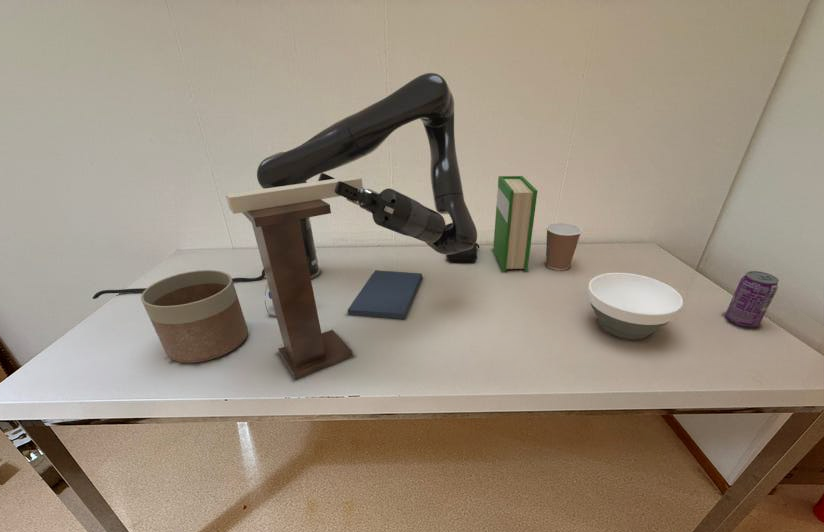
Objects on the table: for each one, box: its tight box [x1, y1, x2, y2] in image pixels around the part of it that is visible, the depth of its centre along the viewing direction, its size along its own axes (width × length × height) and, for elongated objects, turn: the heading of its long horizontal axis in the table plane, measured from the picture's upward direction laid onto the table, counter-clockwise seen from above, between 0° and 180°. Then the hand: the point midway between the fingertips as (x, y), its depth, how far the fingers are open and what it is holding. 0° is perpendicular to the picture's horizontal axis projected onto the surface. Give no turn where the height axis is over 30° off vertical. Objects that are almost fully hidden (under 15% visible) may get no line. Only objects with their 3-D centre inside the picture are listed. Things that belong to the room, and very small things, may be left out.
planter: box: [140, 269, 249, 363], centre depth 82 cm, size 16×16×14 cm
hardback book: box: [492, 175, 538, 273], centre depth 118 cm, size 18×7×24 cm, turn 4°
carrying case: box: [445, 242, 480, 263], centre depth 127 cm, size 11×3×15 cm
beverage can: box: [724, 270, 780, 328], centre depth 91 cm, size 7×7×12 cm
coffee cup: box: [545, 222, 583, 271], centre depth 118 cm, size 10×10×12 cm
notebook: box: [347, 269, 423, 320], centre depth 104 cm, size 14×22×2 cm, turn 172°
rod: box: [225, 175, 364, 215], centre depth 66 cm, size 22×2×2 cm, turn 127°
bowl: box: [587, 272, 684, 340], centre depth 89 cm, size 20×20×10 cm
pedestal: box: [242, 199, 354, 381], centre depth 73 cm, size 12×10×32 cm
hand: (328, 182), depth 68 cm, fingers open, 7 cm apart
